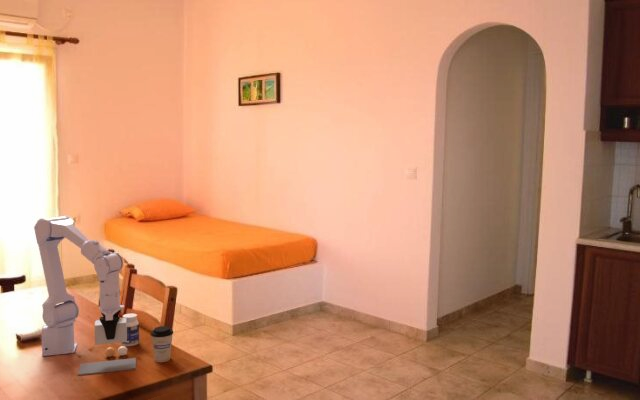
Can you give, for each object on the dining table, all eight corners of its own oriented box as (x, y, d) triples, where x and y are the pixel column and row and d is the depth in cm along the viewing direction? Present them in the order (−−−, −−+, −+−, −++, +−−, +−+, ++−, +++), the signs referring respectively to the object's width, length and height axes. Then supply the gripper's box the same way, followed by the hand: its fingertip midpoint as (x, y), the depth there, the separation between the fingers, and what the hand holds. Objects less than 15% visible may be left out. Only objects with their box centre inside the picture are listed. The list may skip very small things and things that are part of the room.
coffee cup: (153, 355, 173) (153, 325, 172) (175, 354, 173) (175, 324, 172) (148, 364, 166) (148, 332, 165) (171, 363, 166) (171, 332, 165)
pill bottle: (133, 347, 179) (132, 318, 178) (118, 346, 180) (117, 317, 179) (142, 341, 185) (141, 313, 184) (127, 340, 186) (126, 312, 185)
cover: (95, 344, 162) (94, 325, 162) (96, 339, 167) (95, 320, 166) (126, 341, 165) (126, 322, 165) (126, 336, 170) (126, 317, 169)
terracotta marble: (104, 358, 169) (104, 349, 169) (105, 355, 172) (104, 346, 172) (114, 357, 170) (114, 348, 170) (115, 354, 173) (114, 345, 173)
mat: (77, 375, 157) (77, 374, 157) (80, 365, 165) (80, 363, 164) (135, 369, 162) (135, 367, 162) (135, 359, 170) (135, 357, 169)
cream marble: (117, 357, 171) (117, 348, 170) (117, 354, 173) (117, 345, 173) (127, 356, 172) (127, 347, 171) (127, 353, 174) (127, 344, 174)
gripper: (123, 298, 159) (124, 342, 160) (124, 286, 173) (125, 327, 174) (97, 300, 157) (98, 345, 158) (100, 287, 170) (101, 329, 172)
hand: (111, 336), depth 166 cm, fingers closed on cover, 5 cm apart
